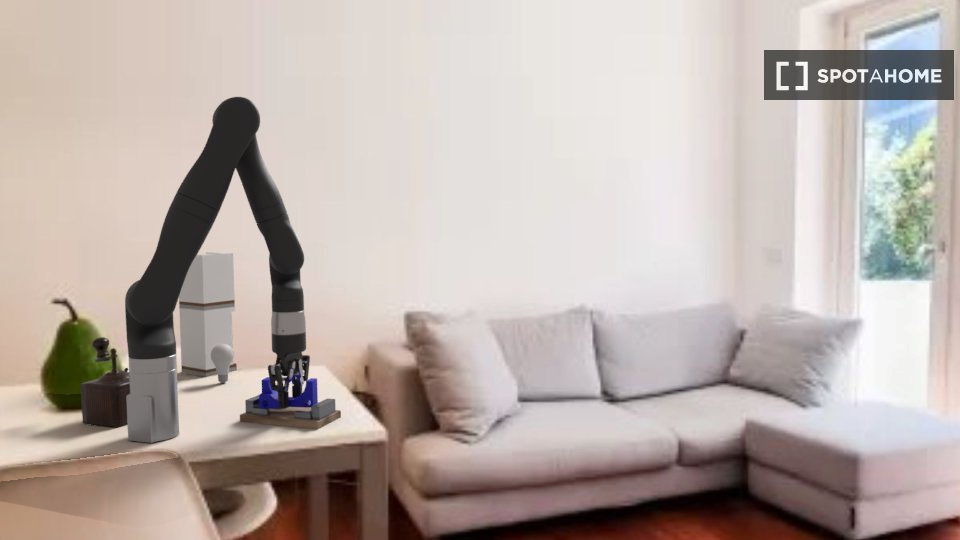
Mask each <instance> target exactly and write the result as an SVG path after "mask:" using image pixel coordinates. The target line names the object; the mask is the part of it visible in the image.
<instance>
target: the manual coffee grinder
mask: <svg viewBox="0 0 960 540" xmlns="http://www.w3.org/2000/svg"><path fill="white" fill-rule="evenodd" d="M90 344H91V348H92V349H93V350H95V352H96V355H95V356H96V359H94V363H102V362H108V361H111V368H112V369H111V371H108V372H106V373H104V374H103V375H101V376H99V378H96V379H92V380H88V381H84V382H82V383H80V401H81V414H82V416H81V417H82V423H85V424H84V425H87V424H91V425H90V426H94V425H97V426H96V427H101V426H103V427H102V428H114V429H117V428H120V427H121V428H122V427H123V426H124V427H125V426H126V425H127V426H128V424H127V400H126V397H127V395H129V394H130V383H129V367H125V368H124V369H123V370H122V369H118V367H117V365H118V364H117V358H118V354H117V349H116V348H115V347H113V348H111V349H110V353H109V351H108V349H109V346H110V340H109V338H107V337H105V336H104V337H102V336H101V337H98V338H95V339H93V340H92V342H91V343H90Z"/></svg>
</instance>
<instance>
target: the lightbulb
mask: <svg viewBox="0 0 960 540" xmlns="http://www.w3.org/2000/svg"><path fill="white" fill-rule="evenodd" d="M234 357H235V351H234V348H233V349H232V348H231V347H230V346H229V345H227V344H219V345H216V346H215V347H214V348H213V349H212V351H211V360H212V361H213V363H214V365H215V367H216V370H217V374H218V375H217V380H218V382H219V383H221V384H226V382H228V381H229V374H230V372H229V367H230V364H231V362H232V360H233V361H234Z"/></svg>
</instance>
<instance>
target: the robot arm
mask: <svg viewBox="0 0 960 540" xmlns="http://www.w3.org/2000/svg"><path fill="white" fill-rule="evenodd" d="M260 126H261V114H260V111H259V109H258V107H257V106H256V104H255V103H254V102H253V100H250V99H249V98H247V97H243V96H233V97H229V98H227V99H225V100H223V101H222V102H221V103H219V105H218V106H217V107H216V109H215V110H214V113H213V115H212V127H211V130H210V132H209V136H208V138H207V140H206V142H205V146H204V148H203V149H202V151H201V153H200V155H199V156H198V158H197V160H196V161H195V162H194V164H193V165H192V166H191V168H190V170H188V171H187V174H186V176H185V177H184V178H183V180H182V182H181V184H180V185H179V187H178V189H177V191H176V193H175V195H174V198H173V199H172V202H171V203H170V205H169V207H168V210H167V212H166V215H165V219H164V220H163V223H162V227H161V231H160V234H159V238H158V242H157V246H156V248H155V251H154V254H153V256H152V258H151V260H150V262H149V264H148V265H147V267H146V269H145V271H144V272H143V274H142V275H141V277H140V279H139V280H137V281H135V282H133V283H132V284H131V285H130V287H129V288H128V289H127V290H126V294H125V299H124V308H125V309H124V310H125V326H126V327H125V328H126V329H125V330H126V343H127V354H128V355H127V356H128V372H129V383H130V394H129V395H127V397H126V400H127V440H128V441H130V442H132V441H133V442H139V443H147V444H152V443H156V442H159V441H167V440H171V439H173V438H175V437H177V436H178V435H180V420H179V419H180V416H179V415H180V414H179V413H180V412H179V394H178V393H179V392H178V391H179V390H178V389H179V388H178V365H177V363H178V362H177V359H178V358H177V341H176V334H175V328H174V326H175V325H174V323H175V322H174V312H175V310H176V306H177V303H178V302H179V295H180V292H181V289H182V286H183V283H184V280H185V278H186V275H187V272H188V270H189V268H190V266H191V264H192V262H193V260H194V259H195V257H196V255H199V252H200V250H201V248H202V246H203V244H204V243H205V241H206V239H207V236H208V235H209V234H210V231H211V230H212V227H213V225H214V223H215V222H216V220H217V217H218V215H219V213H220V211H221V208H222V206H223V203H224V200H225V199H226V195H227V193H228V191H229V188H230V185H231V182H232V179H233V176H234V174H235V170H236V172H237V175H238V177H239V179H240V182H241V185H242V187H243V191H244V193H245V196H246V198H247V202H248V205H249V207H250V209H251V213H252V215H253V218H254V221H255V224H256V226H257V228H258V230H259V232H260V233H261V235H262V237H263V238H264V240H265V244H266V246H267V250H268V253H269V256H268V264H269V275H270V282H271V320H270V321H271V322H270V323H271V324H270V328H271V329H270V331H271V351H272V352H273V353H274V354H276V359H275V362H274V364H269V365H268V366H267V372H268V377H269V378H270V384H271V389H272V390H275V391H277V392H278V404H279V408H288V407H289V397H290V396H289V389H290V383H291V384H292V387H291V392H292V393H291V395H292V396H291V397H298V396H300V395H301V394H302V393H303V386H304V385H305V382H306V381H307V380H309V373H310V372H309V371H310V361H311V357H310V355H308V354H303V353H304V352H305V351H306V350H307V332H306V331H307V329H306V328H307V327H306V324H307V323H306V322H307V321H306V315H305V299H304V298H305V296H304V289H303V287H302V284H301V282H302V281H301V269H302V267H303V265H304V263H305V255H304V254H305V253H304V251H303V248H302V246H301V243H300V241H299V239H298V237H297V235H296V232H295V230H294V229H293V226H292V225H291V222H290V218H289V214H288V212H287V208H286V207H285V203H284V200H283V198H282V195H281V193H280V191H279V189H278V187H277V185H276V183H275V181H274V179H273V177H272V176H271V173H270V172H269V171H268V168H267V166H266V164H265V161H264V160H263V157H262V154H261V151H260V147H259V144H258V140H257V132H259V128H260Z"/></svg>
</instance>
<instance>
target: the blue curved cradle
mask: <svg viewBox="0 0 960 540" xmlns="http://www.w3.org/2000/svg"><path fill="white" fill-rule="evenodd" d="M258 395H259V407H260V408H279V404H278V392H277V391H275V390H272V389H271V384H270V378H269V376H268V377H265V378H263V379H261V393H259V394H258ZM318 399H319V397H318V378H313V377H312V378H311V377H310V378H308V380H307V381H305V387H304V389H303V390H302V394H301V395H300V396H298V397H292V396H289V407H306V408H311V406H312V405H314V404H317V403H319V402H318V401H319V400H318ZM280 409H285V408H280Z"/></svg>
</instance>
